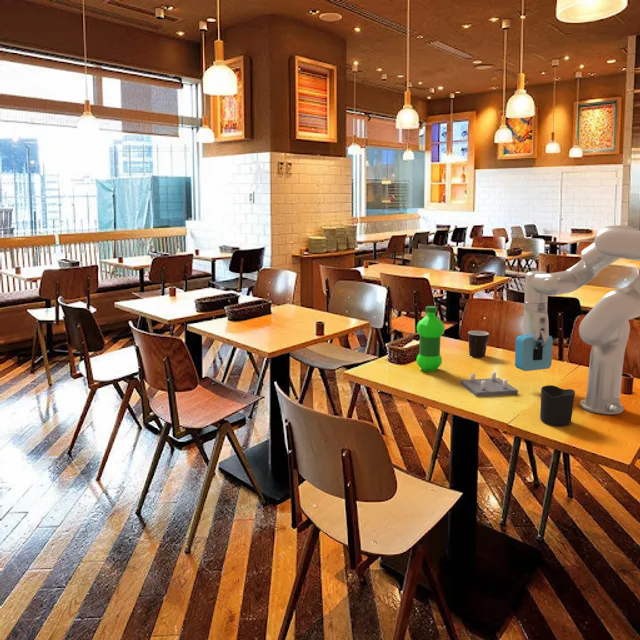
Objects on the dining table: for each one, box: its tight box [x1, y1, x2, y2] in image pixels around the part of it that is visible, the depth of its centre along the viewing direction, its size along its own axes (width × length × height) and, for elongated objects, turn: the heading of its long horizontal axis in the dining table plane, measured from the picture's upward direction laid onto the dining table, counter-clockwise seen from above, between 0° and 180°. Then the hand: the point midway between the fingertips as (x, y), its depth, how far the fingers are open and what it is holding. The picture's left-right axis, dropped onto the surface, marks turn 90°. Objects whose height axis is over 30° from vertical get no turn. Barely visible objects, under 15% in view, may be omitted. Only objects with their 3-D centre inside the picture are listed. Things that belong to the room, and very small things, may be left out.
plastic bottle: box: [415, 305, 445, 373], centre depth 230 cm, size 10×10×25 cm
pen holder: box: [539, 384, 576, 428], centre depth 179 cm, size 9×9×10 cm
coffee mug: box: [467, 330, 490, 359], centre depth 250 cm, size 12×9×10 cm
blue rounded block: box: [514, 334, 554, 372], centre depth 209 cm, size 12×4×12 cm, turn 106°
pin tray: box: [459, 371, 519, 398], centre depth 209 cm, size 14×15×4 cm
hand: (533, 357), depth 209 cm, fingers closed on blue rounded block, 4 cm apart
